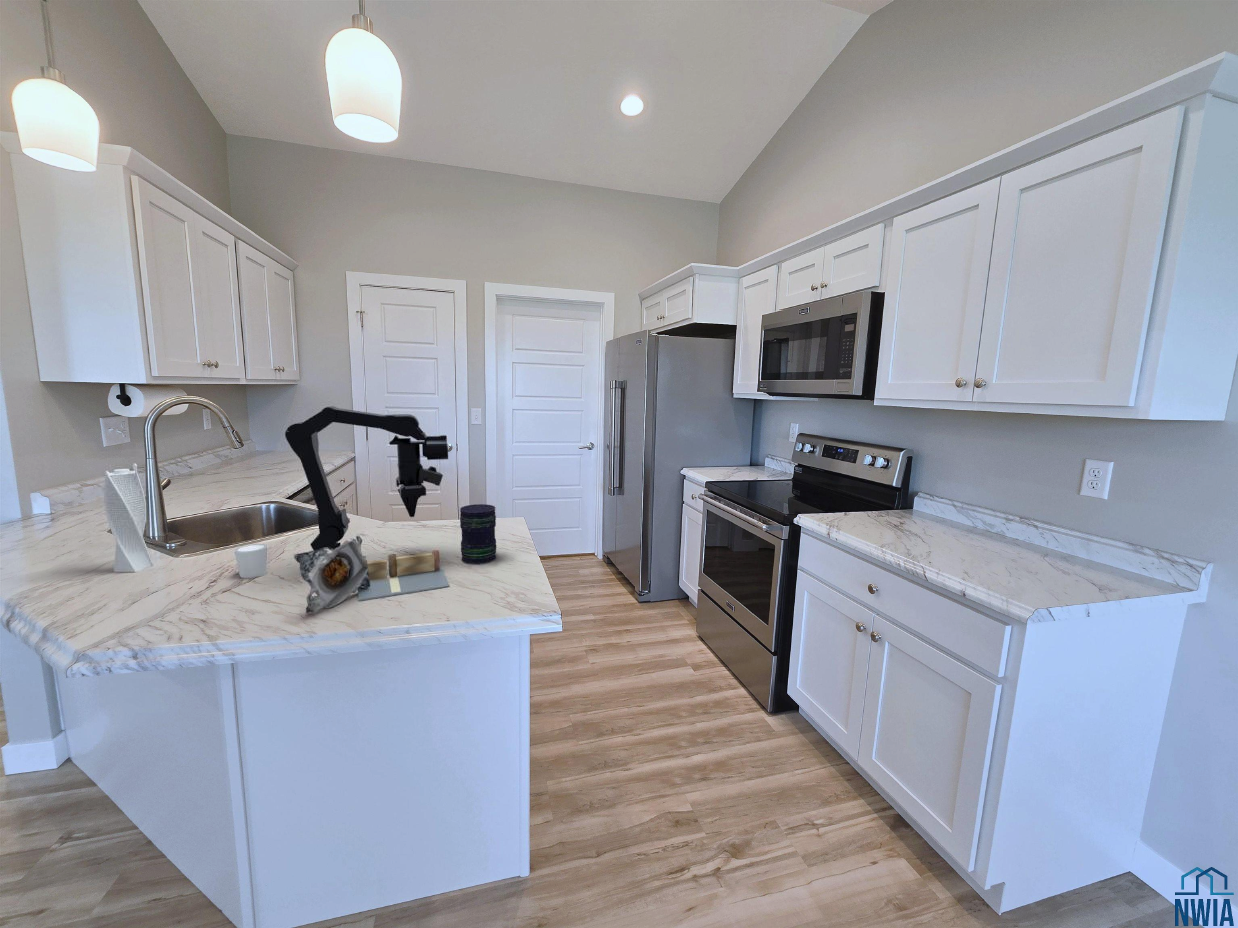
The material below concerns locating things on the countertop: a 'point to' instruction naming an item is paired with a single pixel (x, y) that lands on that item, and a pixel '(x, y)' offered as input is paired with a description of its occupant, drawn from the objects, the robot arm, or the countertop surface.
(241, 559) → the white cylinder
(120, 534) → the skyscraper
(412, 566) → the rail
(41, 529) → the countertop surface
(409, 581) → the board
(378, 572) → the fixed fence rail
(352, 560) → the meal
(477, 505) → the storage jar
